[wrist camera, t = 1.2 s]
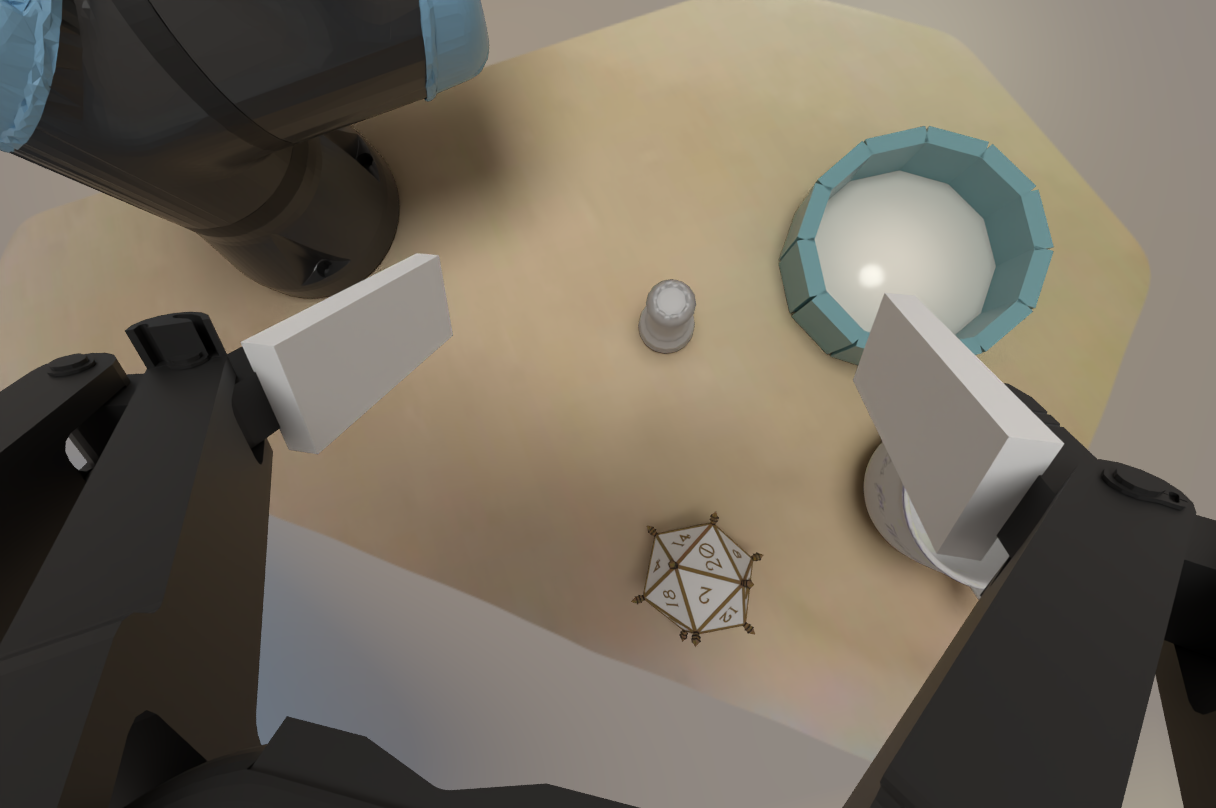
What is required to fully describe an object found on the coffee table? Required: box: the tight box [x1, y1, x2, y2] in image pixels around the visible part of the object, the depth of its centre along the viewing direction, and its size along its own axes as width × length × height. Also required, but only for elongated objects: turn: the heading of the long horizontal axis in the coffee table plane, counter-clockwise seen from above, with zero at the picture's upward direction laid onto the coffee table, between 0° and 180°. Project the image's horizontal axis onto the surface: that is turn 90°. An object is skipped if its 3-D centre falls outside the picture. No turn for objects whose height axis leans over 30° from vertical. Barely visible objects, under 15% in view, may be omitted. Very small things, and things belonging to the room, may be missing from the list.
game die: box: [631, 512, 763, 647], centre depth 33 cm, size 9×8×10 cm
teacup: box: [864, 442, 1009, 600], centre depth 32 cm, size 14×11×8 cm
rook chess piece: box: [638, 279, 696, 353], centre depth 34 cm, size 4×4×8 cm
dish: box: [779, 126, 1054, 365], centre depth 34 cm, size 16×16×4 cm
